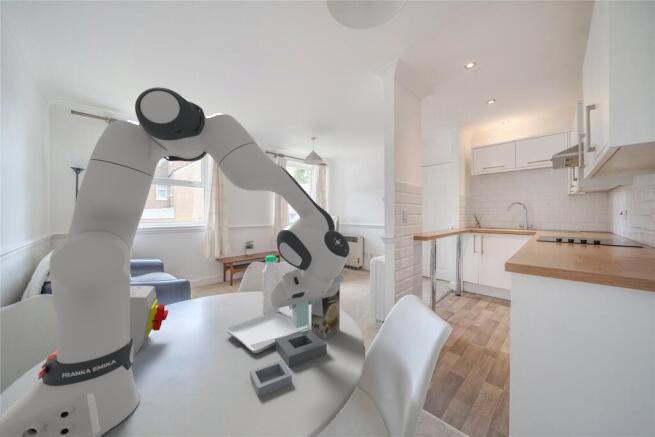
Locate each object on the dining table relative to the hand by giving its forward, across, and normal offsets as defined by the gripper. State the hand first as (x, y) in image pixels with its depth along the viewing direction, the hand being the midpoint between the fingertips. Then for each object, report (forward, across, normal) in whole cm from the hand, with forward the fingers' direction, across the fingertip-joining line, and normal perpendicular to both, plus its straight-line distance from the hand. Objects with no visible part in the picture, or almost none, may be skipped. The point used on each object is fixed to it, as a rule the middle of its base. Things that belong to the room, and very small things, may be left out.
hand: (299, 304), depth 72 cm
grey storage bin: (+4, +12, +17) cm, 21 cm away
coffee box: (+16, -14, +6) cm, 22 cm away
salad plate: (+22, +5, -1) cm, 23 cm away
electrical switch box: (+34, +43, -13) cm, 57 cm away
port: (+10, 0, +11) cm, 15 cm away
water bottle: (+36, -3, -14) cm, 39 cm away
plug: (+4, 0, +5) cm, 6 cm away
